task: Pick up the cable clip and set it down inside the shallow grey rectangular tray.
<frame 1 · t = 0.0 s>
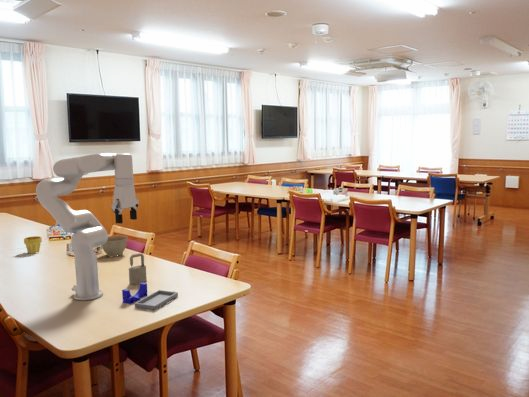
hand: (126, 221, 196), 37 cm above the table, tool pointing down, fingers open, 9 cm apart
grey rectangular tray: (157, 301, 200), on the table
plant pot: (33, 252, 294), on the table
cable clip: (136, 300, 204), on the table
padlock: (138, 283, 228), on the table
planter bowl: (114, 255, 284), on the table
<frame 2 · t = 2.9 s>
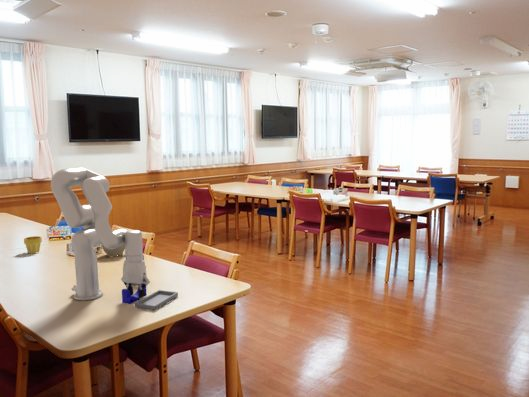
hand: (136, 296, 204), 1 cm above the table, tool pointing down, fingers open, 5 cm apart
nothing on the table moved.
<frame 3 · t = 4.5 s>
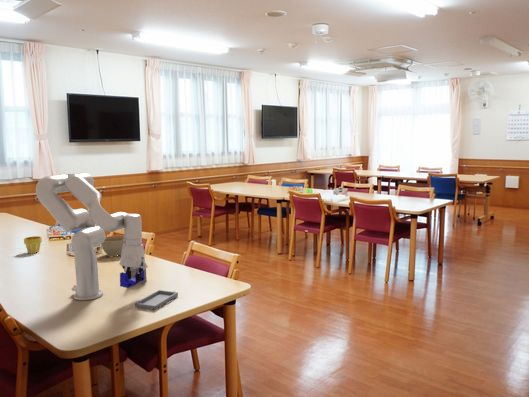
hand: (133, 280, 203), 9 cm above the table, tool pointing down, fingers closed on cable clip, 4 cm apart
cable clip: (133, 283, 203), point 7 cm above the table, touching gripper
everything else where it was.
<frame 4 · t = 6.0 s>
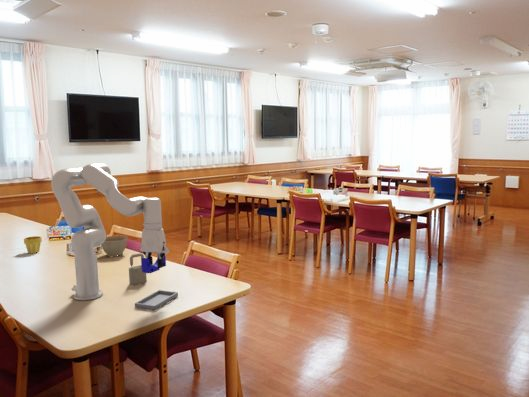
hand: (155, 266, 198), 16 cm above the table, tool pointing down, fingers closed on cable clip, 4 cm apart
cable clip: (155, 269, 198), point 15 cm above the table, touching gripper
everything else where it was.
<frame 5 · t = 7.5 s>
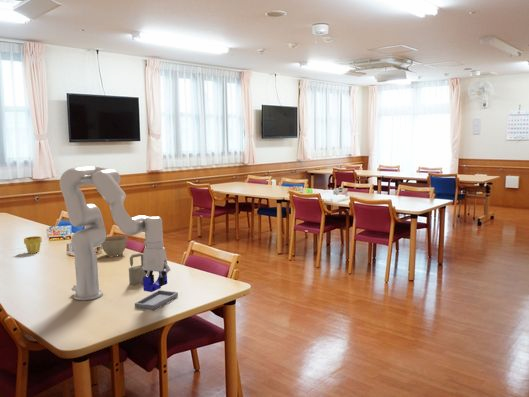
hand: (156, 284, 199), 8 cm above the table, tool pointing down, fingers closed on cable clip, 4 cm apart
cable clip: (157, 287, 199), point 7 cm above the table, touching gripper
everything else where it was.
when the fingers open (3 cm above the table, at t = 8.8 s): cable clip drops 1 cm, resting on grey rectangular tray.
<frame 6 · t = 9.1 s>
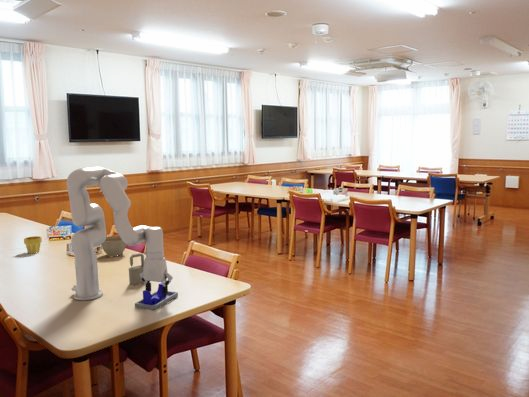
hand: (156, 293, 200), 4 cm above the table, tool pointing down, fingers open, 8 cm apart
cable clip: (156, 301, 200), resting on grey rectangular tray
everything else where it was.
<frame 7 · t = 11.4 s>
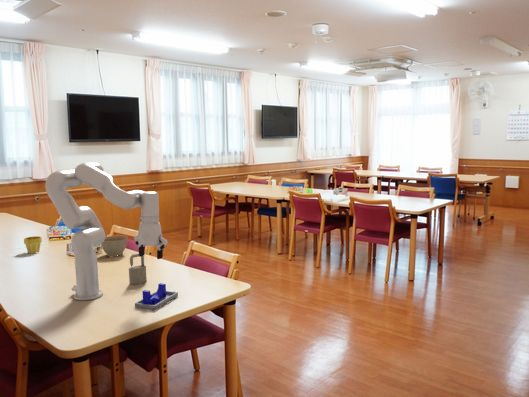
hand: (150, 257, 200), 20 cm above the table, tool pointing down, fingers open, 9 cm apart
nothing on the table moved.
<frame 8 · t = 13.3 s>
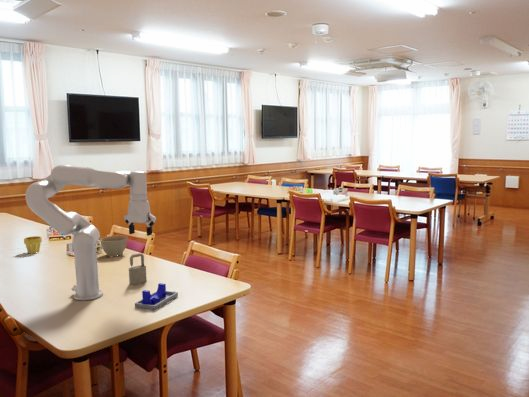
hand: (140, 234, 208), 28 cm above the table, tool pointing down, fingers open, 9 cm apart
nothing on the table moved.
at the end: cable clip inside the target area on the grey rectangular tray (0.6 cm from its centre), point 0.4 cm above the grey rectangular tray's base; cable clip touching grey rectangular tray; the gripper is holding nothing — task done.
